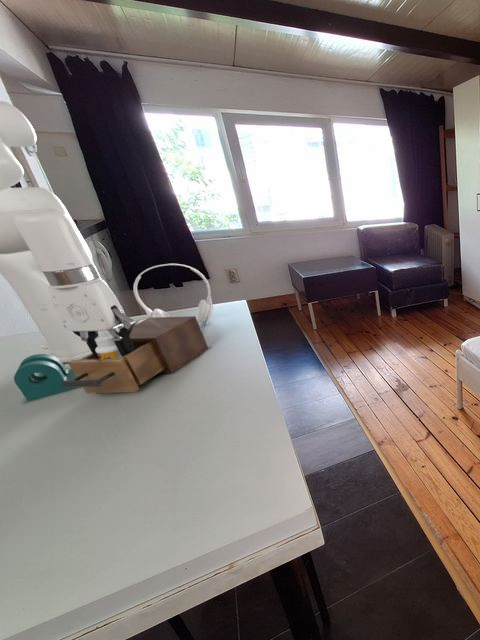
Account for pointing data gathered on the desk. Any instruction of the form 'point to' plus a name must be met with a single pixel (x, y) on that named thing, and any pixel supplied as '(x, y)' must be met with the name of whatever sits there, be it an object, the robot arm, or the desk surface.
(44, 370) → the bracket
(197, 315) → the headphones
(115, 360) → the drawer
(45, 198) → the robot arm
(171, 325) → the cabinet
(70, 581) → the desk surface
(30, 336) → the desk surface
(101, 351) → the supplement bottle
